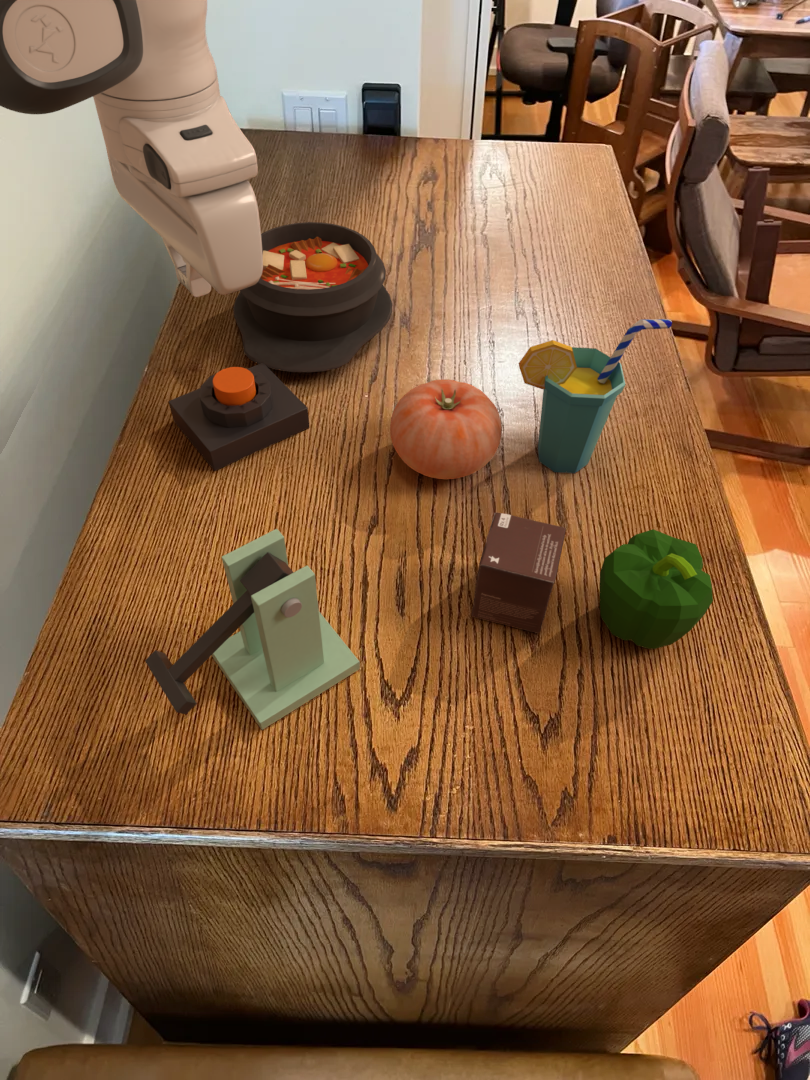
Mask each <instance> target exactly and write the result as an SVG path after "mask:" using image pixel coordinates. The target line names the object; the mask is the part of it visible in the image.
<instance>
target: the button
mask: <svg viewBox="0 0 810 1080" xmlns="http://www.w3.org/2000/svg"><path fill="white" fill-rule="evenodd" d="M247 369H248V368H244V367H241V366H230V367H225V368H223V369H221V370H219V371H218V372H216V373H215V374H216V375H215V376H214V378H213V386H214V391H215V396H216V399H217V400H218V401H219V402H220V403H222V404H224V405H227V406H233V405H242V404H245V403H247V402H249V401H251V400H252V399H253V398H254V397H255V395H256V387H255V381H254V376H253V374H252V373H251V372H250V371H249V370H247Z"/></svg>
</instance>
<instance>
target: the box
mask: <svg viewBox="0 0 810 1080" xmlns="http://www.w3.org/2000/svg"><path fill="white" fill-rule="evenodd" d="M566 530H567V529H566V527H564V526H559V525H556V524H551V523H547V522H543V521H539V520H538V521H537V520H534V519H529V518H524V517H520V516H516V515H513V514H509V513H503V512H497V511H495V512H494V513H493V517H492V519H491V523H490V526H489V530H488V533H487V536H486V539H485V542H484V546H483V549H482V550H483V551H482V552H481V553H482V554H481V557H480V560H479V563H478V570H477V577H476V582H475V586H474V587H475V589H474V593H473V594H474V595H473V603H472V608H471V617H472V618H476V619H480V620H483V621H488V622H491V623H497V624H500V625H504V626H508V627H512V628H515V629H516V628H517V629H519V630H523V631H527V632H531V633H535V634H540V633H541V631H542V627H543V623H544V620H545V617H546V613H547V609H548V605H549V601H550V598H551V595H552V593H553V588H554V585H555V583H556V579H557V574H558V570H559V565H560V561H561V555H562V551H563V546H564V541H565V536H566Z"/></svg>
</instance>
